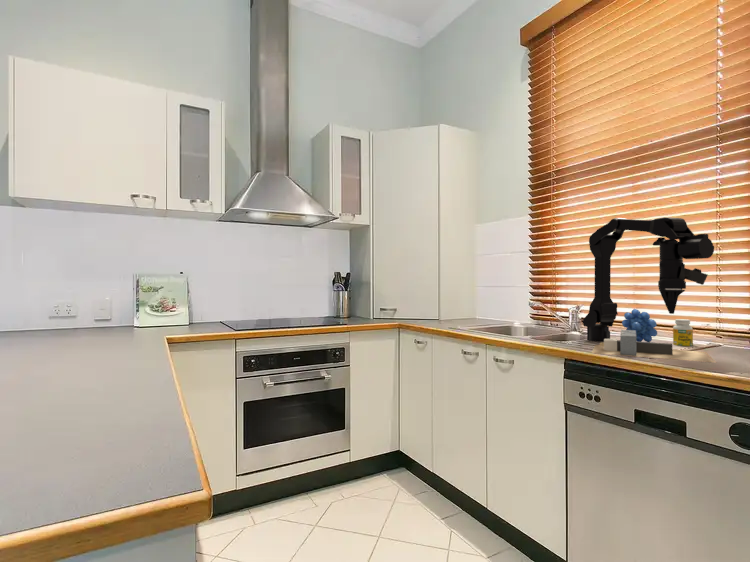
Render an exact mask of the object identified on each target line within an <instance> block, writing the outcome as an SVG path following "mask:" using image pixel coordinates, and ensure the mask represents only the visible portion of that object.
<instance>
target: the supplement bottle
mask: <svg viewBox="0 0 750 562" xmlns="http://www.w3.org/2000/svg"><path fill="white" fill-rule="evenodd" d="M674 323H675V325H673V326H672V336H673V337H672V342H673V343H672V346H678V347H679V346H680V347H694V331H693V327H692V326H691V320H690V319H687V318H686V319H685V318H684V319H683V318H676V319H675V320H674Z"/></svg>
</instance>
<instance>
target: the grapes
mask: <svg viewBox="0 0 750 562" xmlns="http://www.w3.org/2000/svg"><path fill="white" fill-rule="evenodd" d="M623 317H624V319H623V320H622V321H621V324H622V326H623V328H625V330H636V341H638V342H652V340H653V337H657V336H658V330H657V329H656V327H657V325H658V324H657V322H656V321H655V320H654V319H652V318H651V316H650V314H649V313H648V312H646V311H642V312H641V311H640V310H639V309H635V308H633V309H632V310H631V312H625V313H624V314H623Z"/></svg>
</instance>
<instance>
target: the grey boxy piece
mask: <svg viewBox="0 0 750 562" xmlns="http://www.w3.org/2000/svg"><path fill="white" fill-rule="evenodd" d="M619 338H620V355H619V356H621V355H631V356H630V357H634V356H636V330H626V329H621V330H620V337H619Z"/></svg>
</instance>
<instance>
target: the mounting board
mask: <svg viewBox="0 0 750 562" xmlns="http://www.w3.org/2000/svg"><path fill="white" fill-rule="evenodd" d="M672 351H673V355H668V354H654V353H640V352H636V356H633V357H634V358H650V359H664V360H676V361H690V362H701V363H702V362H703V363H704V362H705V363H715V364H717V361H716V360H715V359H714V358H713V357H712V356H710V355H709V353H707V351H697V350H696V351H693V350H680V349H672ZM591 354H597V355H608V356H609V355H611V356H622V357H623V356H624V357H632V356H631V355H620V351H606V350H604V346H600V344H595V345H594V347H593V349H592V351H591Z"/></svg>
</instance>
